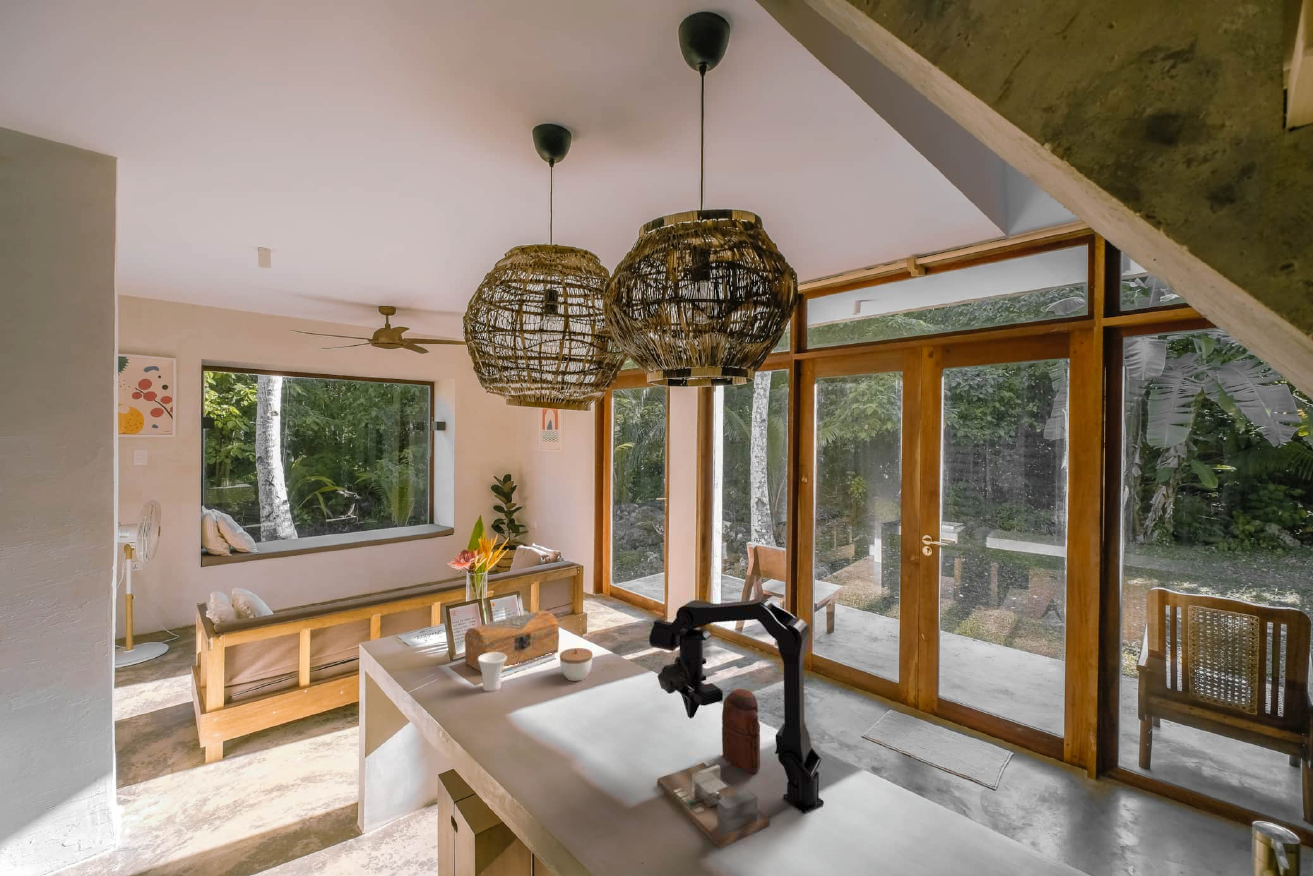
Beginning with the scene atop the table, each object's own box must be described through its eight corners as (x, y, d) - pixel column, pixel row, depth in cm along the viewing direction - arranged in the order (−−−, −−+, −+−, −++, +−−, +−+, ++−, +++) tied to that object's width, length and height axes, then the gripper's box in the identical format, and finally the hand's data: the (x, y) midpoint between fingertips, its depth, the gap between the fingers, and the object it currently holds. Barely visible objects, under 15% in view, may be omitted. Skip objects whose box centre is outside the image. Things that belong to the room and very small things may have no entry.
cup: (500, 694, 184) (500, 662, 184) (472, 692, 185) (472, 660, 185) (512, 682, 192) (512, 652, 192) (485, 680, 194) (485, 650, 194)
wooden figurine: (769, 767, 145) (769, 694, 145) (753, 777, 141) (753, 702, 140) (732, 748, 154) (732, 679, 154) (715, 757, 150) (716, 686, 149)
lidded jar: (553, 676, 197) (553, 648, 197) (580, 667, 204) (580, 640, 204) (571, 687, 189) (571, 657, 189) (598, 677, 197) (598, 649, 196)
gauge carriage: (717, 786, 134) (717, 764, 134) (743, 809, 126) (743, 786, 126) (682, 799, 130) (682, 777, 129) (707, 824, 122) (707, 800, 122)
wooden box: (486, 677, 197) (486, 635, 197) (463, 662, 209) (463, 623, 209) (561, 653, 218) (561, 615, 218) (537, 641, 230) (537, 605, 230)
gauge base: (703, 768, 144) (703, 742, 144) (769, 826, 124) (769, 795, 124) (657, 785, 138) (657, 757, 138) (719, 848, 117) (719, 816, 117)
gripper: (643, 648, 149) (643, 709, 149) (684, 675, 133) (684, 744, 133) (680, 640, 155) (680, 699, 155) (724, 665, 139) (724, 731, 139)
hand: (690, 717), depth 145 cm, fingers closed
